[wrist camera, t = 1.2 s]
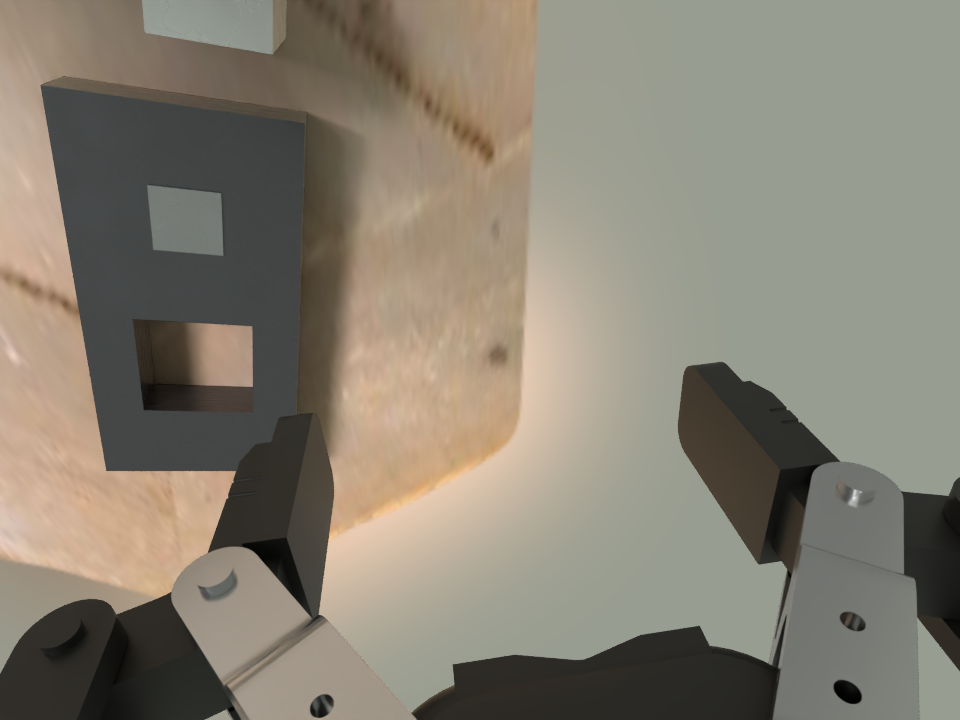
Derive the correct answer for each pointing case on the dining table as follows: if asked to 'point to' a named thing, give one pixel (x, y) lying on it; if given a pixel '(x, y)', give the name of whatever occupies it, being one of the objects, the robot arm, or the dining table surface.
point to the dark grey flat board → (180, 259)
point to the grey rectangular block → (219, 22)
